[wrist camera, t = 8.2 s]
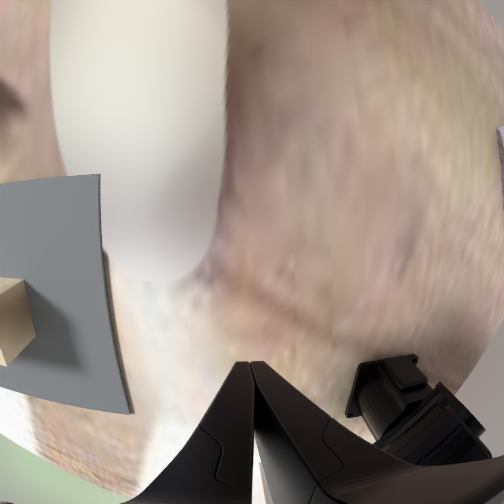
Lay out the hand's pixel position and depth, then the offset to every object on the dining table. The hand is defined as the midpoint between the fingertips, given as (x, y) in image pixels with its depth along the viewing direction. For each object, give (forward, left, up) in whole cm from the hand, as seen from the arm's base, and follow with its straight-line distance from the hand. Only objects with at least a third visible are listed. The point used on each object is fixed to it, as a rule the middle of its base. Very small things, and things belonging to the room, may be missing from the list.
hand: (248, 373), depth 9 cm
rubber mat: (-4, +20, -12) cm, 24 cm away
